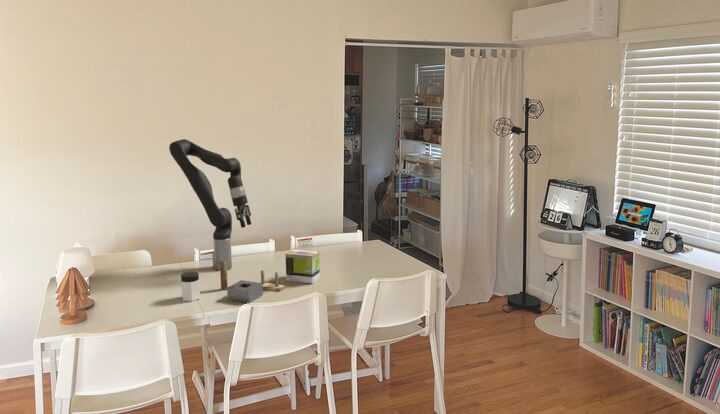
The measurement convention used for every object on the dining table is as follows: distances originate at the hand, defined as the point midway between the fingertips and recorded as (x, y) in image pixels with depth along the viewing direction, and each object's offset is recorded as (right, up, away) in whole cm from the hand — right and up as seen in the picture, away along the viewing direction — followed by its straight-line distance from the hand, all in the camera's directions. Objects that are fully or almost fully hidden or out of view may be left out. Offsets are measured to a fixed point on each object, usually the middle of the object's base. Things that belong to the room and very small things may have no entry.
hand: (246, 226), depth 323 cm
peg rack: (+14, -30, -15) cm, 37 cm away
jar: (-21, -34, -29) cm, 49 cm away
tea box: (+30, -28, -2) cm, 41 cm away
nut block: (+5, -33, -28) cm, 44 cm away
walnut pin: (-8, -31, -17) cm, 36 cm away
